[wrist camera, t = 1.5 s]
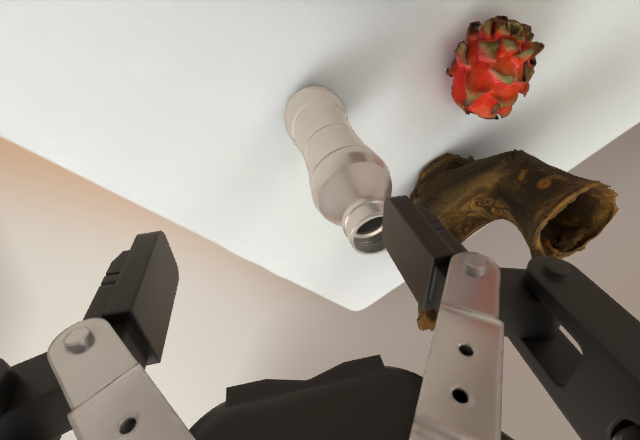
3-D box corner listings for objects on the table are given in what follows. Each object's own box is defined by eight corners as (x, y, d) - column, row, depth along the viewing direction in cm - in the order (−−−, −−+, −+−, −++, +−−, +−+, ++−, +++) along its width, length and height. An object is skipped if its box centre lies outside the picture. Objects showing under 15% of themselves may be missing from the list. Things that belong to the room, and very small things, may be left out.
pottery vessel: (393, 250, 56) (456, 361, 42) (353, 225, 49) (411, 346, 35) (525, 144, 47) (661, 239, 33) (497, 97, 41) (653, 190, 26)
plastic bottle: (327, 68, 33) (415, 177, 19) (345, 124, 38) (427, 245, 24) (270, 96, 34) (314, 223, 19) (296, 147, 38) (346, 280, 24)
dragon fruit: (463, -7, 33) (466, 89, 43) (426, 49, 31) (438, 137, 40) (562, -15, 28) (541, 95, 38) (526, 51, 26) (513, 150, 36)
